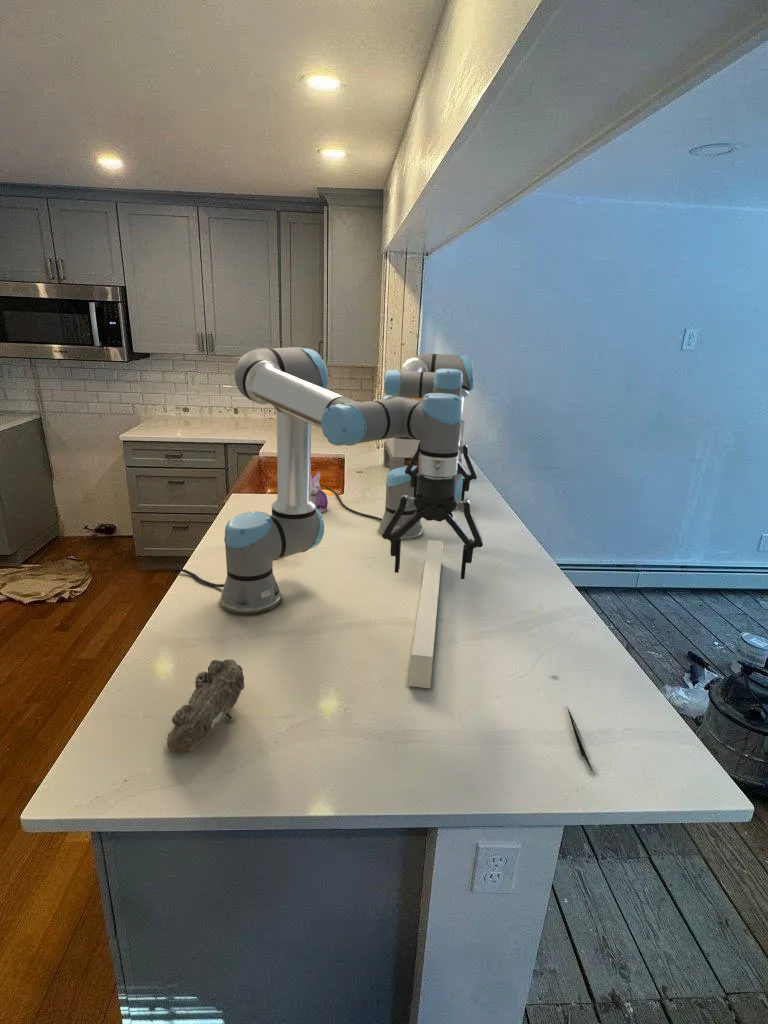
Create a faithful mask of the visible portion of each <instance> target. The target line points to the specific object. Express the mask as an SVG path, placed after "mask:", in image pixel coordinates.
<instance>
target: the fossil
mask: <svg viewBox="0 0 768 1024" xmlns="http://www.w3.org/2000/svg"><path fill="white" fill-rule="evenodd" d="M243 670H244V669H243V667H242V665H240V664H237V662H236V661H235V660H234V659H232V658H231V659H227V658H226V659H224V660H223V661H222V660H217V659H212V660H211V661H210V663H209V665H208V666H207V671H201V672H199V673H198V674H197V675H196V676H195V680H194V684H195V685H194V687H195V689H194V690H193V693H192V694H191V697H190V698H189V700H188V704H184V705H182V706H181V707H180V709H177V710H176V711H175V713H174V715H173V716H172V718H171V723H172V724H173V727H172V730H171V731H170V732H168V734H167V738H166V741H167V742H166V745H167V749H168V750H169V751H173V752H174V753H176V754H178V753H182V752H188V751H189V752H192V751H193V750H195V748H196V747H197V746H199V744H200V743H201V742H203V741H204V740H205V739H206V738H207V737H208V736H209V735H210V734H211V733H212V732H214V730H215V729H217V727H218V726H219V724H220V722H221V721H222V720H223V719H224V718H225V716H226V717H227V719H229V720H233V717H232V715H230V714H229V710H230V709H231V708H234V706H235V704H236V703H237V702H238V699H239V697H240V695H241V693H242V691H243V690H245V689H244V688H245V675H244V671H243Z"/></svg>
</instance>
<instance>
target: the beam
mask: <svg viewBox="0 0 768 1024" xmlns="http://www.w3.org/2000/svg"><path fill="white" fill-rule="evenodd" d="M427 541H428V542H427V547H426V553H425V561H424V566H423V573H422V574H423V575H422V581H421V587H420V593H419V601H418V608H417V614H416V620H415V627H414V633H413V640H412V647H411V654H410V666H409V667H410V668H409V681H408V686H409V687H414V688H421V689H422V688H423V689H431V684H432V683H431V682H432V673H433V661H434V648H435V639H436V626H437V614H438V603H439V602H438V601H439V593H440V592H439V591H440V579H441V569H442V559H443V544H444V541H443V540H433V539H428V540H427Z"/></svg>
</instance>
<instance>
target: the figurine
mask: <svg viewBox="0 0 768 1024" xmlns="http://www.w3.org/2000/svg"><path fill="white" fill-rule="evenodd" d="M320 479H321V472H320V471H318V472H317V473H316V474H315V475H314V476H313V474H312V473H311V472H310V500H311V501H312V502H313V503H314V504H315V505H316V508H317V509H318V510H319V511H320V513H321V514H322V513H325V512H326V511H327V510H328V505H329V501H328V497H327V493H325V492H324V491H323V490H322V486H321V484H320Z"/></svg>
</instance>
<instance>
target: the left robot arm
mask: <svg viewBox="0 0 768 1024" xmlns="http://www.w3.org/2000/svg"><path fill="white" fill-rule="evenodd" d="M234 382H235V386H236V388H237V389H238V391H239V392H240V393H241V395H243V396H244V397H245V398H247V399H248V400H250V401H252V402H254V403H256V404H259V405H268V404H269V405H271V406H272V407H273V408H274V409H275V410H276V451H277V453H276V459H277V460H276V465H277V466H276V469H277V470H276V471H277V472H276V473H277V474H276V476H277V477H276V479H277V481H276V482H277V499H276V500H275V501H274V502H272V504H271V514H269V513H268V512H264V511H254V512H252V511H248V512H243V513H240V514H238V515H235V516H233V517H232V518H231V519H229V520H228V522H227V523H226V525H225V527H224V540H223V541H224V547H225V561H226V578H225V581H224V583H213V582H210V581H207V580H205V579H202V578H201V577H200V576H199V575H197V574H196V573H193V572H191V571H190V570H187V569H184V568H181V567H180V568H179V567H178V568H176V569H175V570H173V573H175V574H177V573H178V572H183V573H185V574H186V575H188V576H189V575H190V576H191V577H193V578H194V579H195V580H196V581H198V582H200V583H202V584H204V585H207V586H211V587H214V588H223V589H222V592H221V594H220V603H221V606H222V607H223V609H224V610H226V611H227V612H230V613H232V614H237V615H243V616H246V615H257V614H262V613H265V612H269V611H270V610H274V608H276V607H277V606H278V605H279V604H280V602H281V589H280V587H279V585H278V582H277V580H276V577H275V574H274V572H273V570H274V567H273V566H274V565H273V564H274V563H273V562H274V561H275V560H276V561H277V560H279V559H283V558H286V557H290V556H293V555H296V554H300V553H306V552H307V551H309V550H311V549H314V548H316V547H317V546H319V544H320V543H321V542H322V540H323V537H324V534H325V520H324V519H323V515H322V513H320V511H319V510H318V509H317V508H316V505H315V504H314V503H313V502H312V501H311V500H310V473H311V468H312V466H311V463H312V461H311V460H312V425H313V426H315V427H317V428H319V429H321V431H322V434H323V436H324V438H326V439H327V442H329V443H330V444H331V445H333V446H337V447H340V446H347V447H348V446H349V447H350V446H355V445H357V444H363V443H370V442H374V441H382V440H385V439H388V438H394V437H408V438H412V439H416V440H420V452H419V468H418V471H419V472H420V474H419V475H418V483H417V495H416V497H415V498H414V497H409V496H407V495H406V494H403V495H402V497H401V500H400V505H399V507H398V508H397V510H396V512H395V513H394V515H393V517H392V518H391V520H390V522H389V523H388V525H387V527H386V528H385V530H384V532H383V535H381V537H382V539H383V540H388V541H389V542H390V556H391V557H395V558H394V559H395V560H394V573H395V574H399V572H400V568H401V567H400V566H401V550H402V540H401V539H400V538H401V537H402V536H403V535H404V534H405V533H406V532H407V531H408V530H409V529H410V528H411V527H412V526H413V525H414V524H415V523H416V522H418V521H419V520H420V521H421V519H424V520H425V521H429V522H430V521H431V522H432V521H435V522H440V523H441V522H442V521H446V522H447V525H449V526H450V527H451V529H452V530H453V531H454V532H455V534H456V535H457V536H458V538H459V539H460V540H461V542H462V543H463V546H462V557H461V568H460V580H465V579H466V578H465V577H466V569H467V564H472V562H473V554H474V550H475V549H476V548H482V547H483V546H484V543H483V541H484V540H483V537H482V535H481V533H480V530H479V528H478V525H477V523H476V520H475V518H474V516H473V513H472V511H471V500H470V499H469V498H464V501H456V500H455V489H456V477H455V475H456V474H457V467H458V456H459V454H458V453H459V450H458V448H459V440H460V439H461V438H460V432H461V425H462V419H464V418H463V413H462V399H461V398H460V397H459V396H457V395H454V394H445V393H429V394H426V395H425V396H424V397H423V401H418V400H413V399H408V398H405V397H402V396H390V395H388V396H387V395H384V396H383V397H382V398H380V399H379V400H369V401H356V400H354V399H351V398H349V397H346V396H344V395H342V394H340V393H336V392H334V391H331V390H329V389H327V387H328V385H329V374H328V369H327V366H326V363H325V361H324V360H323V359H322V356H321V355H320V353H318V352H317V351H316V350H314V349H311V348H306V347H299V346H298V347H297V346H295V347H275V348H266V347H265V348H263V347H262V348H261V347H260V348H256V349H252V350H250V351H248V352H246V353H244V354H243V355H242V356H241V358H240V359H239V360H238V361H237V363H236V366H235V369H234ZM411 504H414V505H415V507H416V508H417V511H415V513H414V514H413V515H412V516H411V517H410V518H409V519H408V520H407V521H406V522H405V523H404V524H403V525H402V526H400V527H399V528H398V529H397V530H396V531H395V532H394V533H392V530H393V528H394V527H395V525H396V523H397V522H398V520H399V519H400V517H401V515H402V514H403V512H404V510H405V507H409V506H410V505H411ZM456 507H458V508H457V509H459V511H460V512H461V513H463V516H464V518H465V521H466V523H467V525H468V528H469V530H470V533H471V535H472V537H473V539H472V537H471V536H470V535H469V534H468V532H467V531H466V529H464V527H463V526H462V524H461V523H460V522H459V520H457V517H455V514H454V513H453V512H454V511H455V510H456V509H455V508H456ZM183 569H184V570H183Z"/></svg>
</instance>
